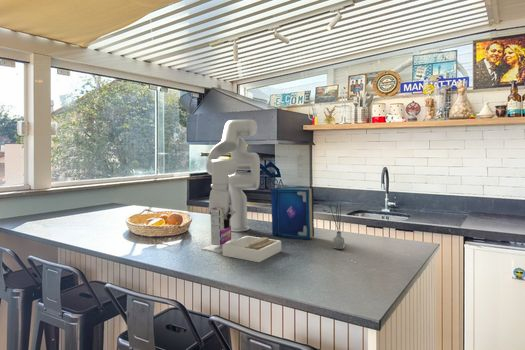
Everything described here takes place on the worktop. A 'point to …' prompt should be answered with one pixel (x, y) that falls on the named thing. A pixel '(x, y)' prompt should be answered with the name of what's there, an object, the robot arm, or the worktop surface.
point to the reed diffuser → (338, 234)
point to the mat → (214, 248)
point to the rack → (243, 252)
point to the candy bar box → (219, 227)
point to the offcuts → (260, 243)
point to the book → (292, 212)
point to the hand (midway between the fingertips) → (221, 226)
